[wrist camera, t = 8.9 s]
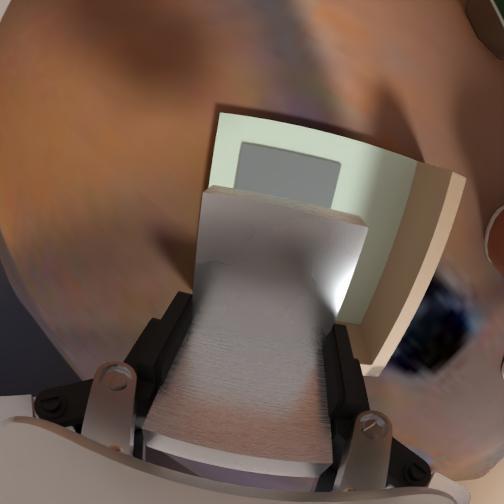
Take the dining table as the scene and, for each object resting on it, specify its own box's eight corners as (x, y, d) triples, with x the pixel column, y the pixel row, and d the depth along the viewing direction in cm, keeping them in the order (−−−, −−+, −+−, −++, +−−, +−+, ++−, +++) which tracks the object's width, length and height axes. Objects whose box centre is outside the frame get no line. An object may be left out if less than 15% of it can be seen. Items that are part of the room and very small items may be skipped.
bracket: (312, 349, 12) (316, 477, 6) (197, 326, 12) (146, 445, 6) (359, 215, 9) (438, 328, 4) (212, 184, 9) (114, 263, 4)
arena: (425, 164, 18) (466, 178, 13) (365, 331, 25) (378, 376, 19) (222, 113, 19) (197, 106, 13) (198, 298, 26) (176, 340, 20)
